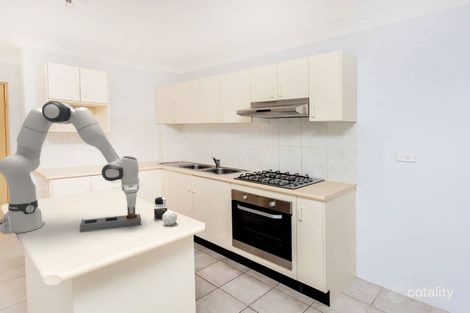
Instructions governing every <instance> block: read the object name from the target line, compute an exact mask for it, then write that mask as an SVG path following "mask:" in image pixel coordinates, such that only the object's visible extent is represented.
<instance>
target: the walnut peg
mask: <svg viewBox="0 0 470 313" xmlns="http://www.w3.org/2000/svg"><path fill="white" fill-rule="evenodd" d="M126 206H127V215H128V219H130V218H136V216H135V214H136V206H135V207H133V213H130V209H129V208H128V205H127V204H126Z"/></svg>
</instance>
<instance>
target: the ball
mask: <svg viewBox="0 0 470 313" xmlns="http://www.w3.org/2000/svg"><path fill="white" fill-rule="evenodd" d="M177 219H178V215H177V213H176V212H175V211H173V210H167V211H166V212H165V213H164V214H163V217H162V220H161V221H162V222H163V223H164V224H165V225H166V226H172V225H174V224H176V222H177Z"/></svg>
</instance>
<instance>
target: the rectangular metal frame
mask: <svg viewBox="0 0 470 313" xmlns="http://www.w3.org/2000/svg"><path fill="white" fill-rule="evenodd" d="M135 216H136V218H130V219H128V214H126V215H125V214H124V215H116V216H107V217H99V218H90V219H82V220H81V221H80V224H79V233H85V232H91V231H93V232H95V231H102V230H108V229H110V230H111V229H118V228H125V227H126V228H127V227H136V226H142V217H141V214H140V213H137V214H136V213H135Z"/></svg>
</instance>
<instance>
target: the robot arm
mask: <svg viewBox="0 0 470 313" xmlns="http://www.w3.org/2000/svg"><path fill="white" fill-rule="evenodd" d="M53 124H59V125H69V124H71V125H72V126H73V127H74V129H75V130H76V132H77V134H78V135H79V137H80V139H81V140H82V141H83V142H84V143H85V144H86V145H88V146H92V147H94V148H96V149H97V150H99V152H100V153H101V154H102V155H103V157H104V159H105V160H106V162H107V164H105V165H104V166H103V167H102V169H101V175H102V176H101V177H102V178H103V179H104V180H105V181H107V182H115V181H119V180H120V182H121V191H122V192H123V193H124V195H125V197H126V198H125V199H126V206H127V205H128V208H129V209H130V213H133V207H135V208H136V205H137V193H138V192H139V190H140V179H139V162H138V160H137V158H136V157H133V156H129V155H127V156H126V155H125V156H122V157H121V158H120V157H119V156H118V154H117V152H116V150H115V149H114V148H113V146H112V144H111V143H110V141H109V140H108V137H107V136H106V135H105V133H104V131H103V128H102V127H101V125H100V123H99V122H98V120H97V118H96V117H95V115H94V114H93V113H92V111H91V110H90V109H89V108H87V107H86V106H85V107H84V106H80V107H74V105H72V104H69V103H67V102H63V101H59V100H58V101H57V100H50V101H47V102H46V103H45V104H44V105H42V107H33V108H32V109H30V111H29V112H28V113H27V115H26V116H25V119H24V121H23V123H22V124H21V127H20V130H19V133H18V135H17V137H16V143H17V146H16V150H15V153H14V154H9V155H7V156H5V157H4V158H2V159H1V160H0V174H1V175H2V176H3V177H4V180H5V182H6V184H7V188H8V198H9V203H8V206H7V207H8V208H7V210H8V211H6V213H5V214H4V215H3V216H2V218H1V219H0V232H1V233H2V234H3V235H10V234H18V233H21V234H22V233H27V232H31V231H36V230H38V229H40V228H41V227H42V226H43V225H45V224H46V221H45V220H44V221H43V216H42V210H41V208H39V202H38V199H37V186H36V184H35V183H34V181H33V179H32V176H31V173H32V172H35V171H36V170H37V169H38V168H39V166H40V165H41V159H40V158H41V153H42V148H43V145H44V143H45V140H46V137H47V135H48V132H49V130H50V127H51V126H52V125H53Z"/></svg>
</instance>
